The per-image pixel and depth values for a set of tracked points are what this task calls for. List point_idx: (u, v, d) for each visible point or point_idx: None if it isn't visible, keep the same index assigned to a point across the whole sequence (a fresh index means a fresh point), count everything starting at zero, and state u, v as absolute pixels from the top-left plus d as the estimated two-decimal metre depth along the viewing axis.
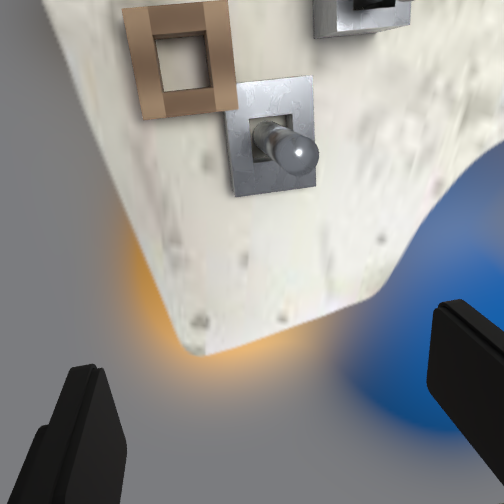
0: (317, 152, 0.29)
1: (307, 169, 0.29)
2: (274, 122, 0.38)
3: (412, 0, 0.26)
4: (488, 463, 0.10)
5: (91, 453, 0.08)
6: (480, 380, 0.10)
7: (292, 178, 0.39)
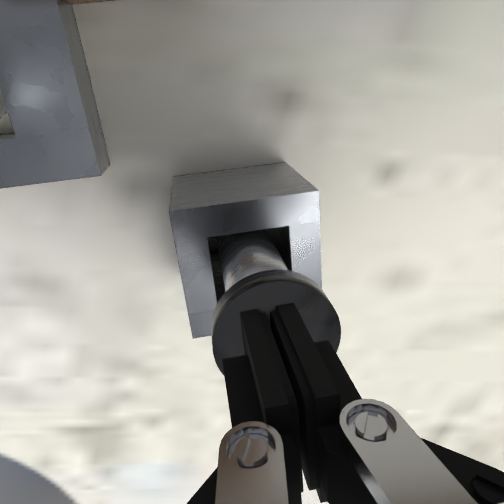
0: None
1: None
2: None
3: None
4: None
5: None
6: None
7: None
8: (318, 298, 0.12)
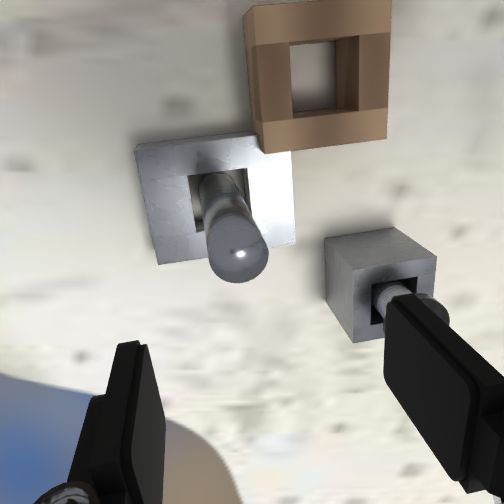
0: (244, 280, 0.19)
1: (219, 269, 0.19)
2: None
3: None
4: (432, 448, 0.10)
5: (144, 418, 0.09)
6: (423, 369, 0.10)
7: (167, 232, 0.28)
8: (441, 307, 0.25)
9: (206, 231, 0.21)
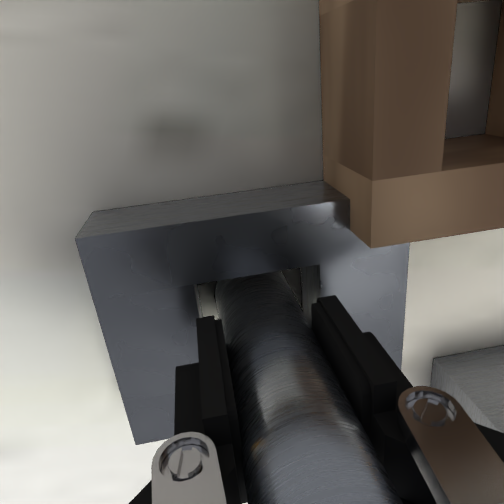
0: None
1: None
2: None
3: None
4: None
5: None
6: (335, 369, 0.10)
7: (153, 389, 0.14)
8: None
9: None
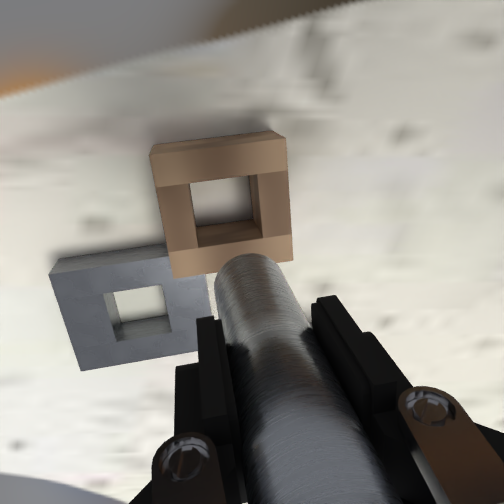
0: None
1: None
2: None
3: None
4: None
5: None
6: (335, 369, 0.10)
7: (87, 342, 0.29)
8: None
9: None
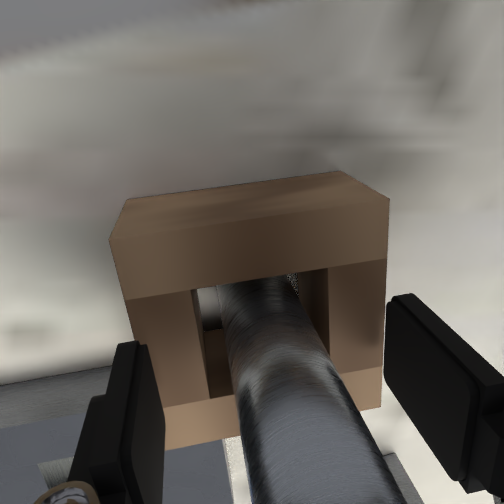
0: None
1: None
2: None
3: None
4: (432, 448, 0.10)
5: (144, 418, 0.09)
6: (423, 369, 0.10)
7: None
8: None
9: (254, 487, 0.08)
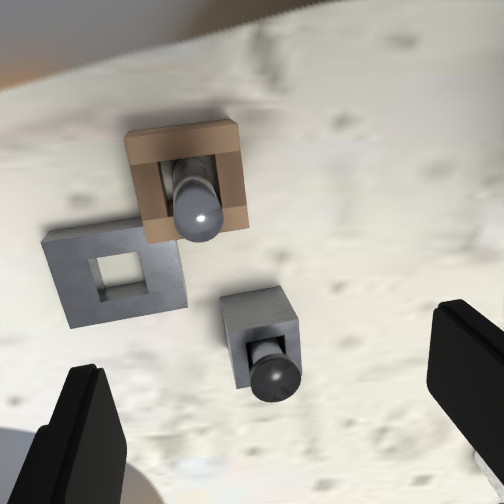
0: (204, 240, 0.23)
1: (183, 230, 0.23)
2: None
3: (250, 384, 0.32)
4: (488, 463, 0.10)
5: (91, 453, 0.08)
6: (480, 380, 0.10)
7: (75, 303, 0.34)
8: (291, 365, 0.31)
9: (173, 201, 0.25)
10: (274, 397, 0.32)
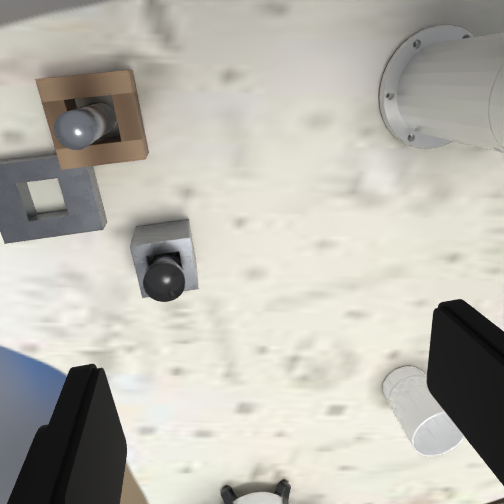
0: (80, 148, 0.31)
1: (62, 139, 0.30)
2: (114, 122, 0.40)
3: None
4: (488, 463, 0.10)
5: (91, 453, 0.08)
6: (480, 380, 0.10)
7: (8, 221, 0.41)
8: (175, 269, 0.39)
9: None
10: (164, 297, 0.40)
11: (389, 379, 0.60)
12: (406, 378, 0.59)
